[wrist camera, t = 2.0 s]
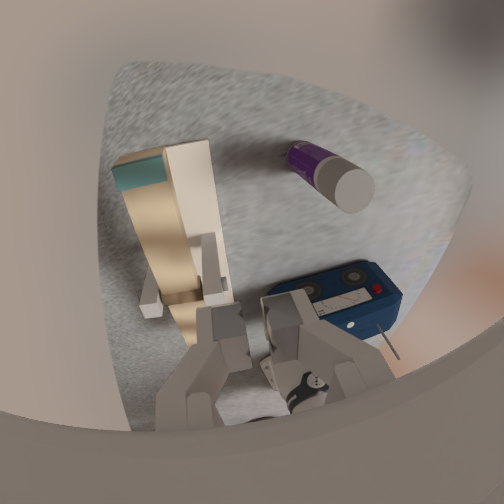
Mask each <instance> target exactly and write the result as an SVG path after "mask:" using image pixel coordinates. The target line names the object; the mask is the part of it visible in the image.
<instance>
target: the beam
mask: <svg viewBox="0 0 504 504" xmlns="http://www.w3.org/2000/svg"><path fill="white" fill-rule="evenodd" d="M111 170H112V173H113V176H114V179H115V182H116V185H117V188H118V191H119V192H120V191H121V192H122V195H123V198H124V200H125V203H126V206H127V209H128V212H129V215H130V217H131V220H132V223H133V225H134V228H135V231H136V233H137V236H138V238H139V241H140V243H141V246H142V248H143V251H144V253H145V256H146V258H147V260H148V263H149V265H150V267H151V270H152V272H153V274H154V277H155V279H156V281H157V283H158V286H159V288H160V292H161V297H162V301H163V303H164V305H165V306H168V307H169V309H170V311H171V313H172V315H173V317H174V319H175V321H176V323H177V325H178V327H179V329H180V331H181V333H182V335H183V337H184V339H185V341H186V343H187V345H188V347H189V348H190V347H191V346H192V345H193V344H197V335H196V309H197V308H198V307H206V305H205V301H204V297H203V286H202V281H201V277H200V275H199V276H198V275H197V272H196V268H195V265H194V261H193V258H192V254H191V251H190V247H189V243H188V240H187V236H186V232H185V228H184V224H183V221H182V217H181V213H180V209H179V205H178V201H177V197H176V192H175V188H174V184H173V180H172V175H171V171H170V166H169V162H168V157H167V152H166V148H165V146H161V147H156V148H152V149H148V150H143V151H139V152H135V153H131V154H127V155H124V156H120V157H119V158H118V160H117V161H116V163H115V164H114V166H113V167H112V169H111Z"/></svg>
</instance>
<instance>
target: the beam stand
mask: <svg viewBox="0 0 504 504" xmlns="http://www.w3.org/2000/svg"><path fill="white" fill-rule="evenodd" d="M165 148H166V152H167V157H168V162H169V166H170V171H171V175H172V180H173V184H174V188H175V192H176V197H177V201H178V205H179V209H180V213H181V217H182V221H183V224H184V228H185V232H186V236H187V240H188V243H189V247H190V251H191V254H192V258H193V261H194V265H195V268H196V272H197V275H198V276H199V275H200V277H201V281H202V286H203V297H204V301H205V305H206V306H211V305H218V304H225V303H232V302H234V298H233V292H232V287H231V281H230V275H229V270H228V264H227V258H226V252H225V246H224V240H223V234H222V228H221V222H220V216H219V209H218V203H217V196H216V190H215V183H214V177H213V170H212V163H211V156H210V149H209V142H208V139H204V140H198V141H193V142H187V143H182V144H177V145H172V146H167V147H165ZM138 298H139V302H140V304H139V306H140V308H141V311H142V313H143V315H144V317H145V319H147V318H155V317H162V313H163V304H164V303H163V301H162V297H161V292H160V288H159V286H158V283H157V281H156V279H155V277H154V274H153V272H152V270H151V267H150V265H148V269H147V273H146V277H145V281H144V286H143V290H139V291H138Z"/></svg>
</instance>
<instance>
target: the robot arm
mask: <svg viewBox="0 0 504 504" xmlns="http://www.w3.org/2000/svg"><path fill="white" fill-rule="evenodd" d="M261 308H262V311H263V314H262V320H263V327H264V332H265V336H266V339H267V340H268V341H269V350H270V354H271V355H270V356H268V357H267V358H265V359H263V360H262V361H261V362H260V366H261V368H262V370H263V372H264V374H265V375H266V377H267V379H268V381H269V383H270V385H271V387H272V388H273V390H274V391H279V392H280V394H281V396H282V398H283V399H284V401H286V403H287V407H288V410H289V411H290V414H289V415H285V416H281V417H276V418H271V419H267V420H261V421H256V422H250V423H244V424H238V425H231V426H225V424H224V422H223V420H222V418H221V416H220V415H219V413H218V411H217V408H216V406H215V402H216V400H217V398H218V396H219V394H220V392H221V390H222V388H223V386H224V384H225V382H226V379H227V377H228V375H229V373H232V372H237V371H242V370H247V369H252V361H251V355H250V351H249V343H248V338H247V333H246V328H245V323H244V319H243V314H242V308H241V304H240V301H238V302H232V303H225V304H218V305H211V306H206V307H198V308H197V309H196V335H197V344H193V345H192V346H191V347H190V349H189V350H188V352H187V353H186V354H185V356H184V357H183V358H182V360H181V361H180V363H179V364H178V365H177V367H176V368H175V370H174V371H173V372H172V374H171V375H170V376H169V378H168V379H167V381H166V382H165V383H164V385H163V386H162V387H161V389H160V390H159V392H158V393H157V394H156V404H155V431H154V432H139V431H112V430H98V429H88V428H79V427H72V426H65V425H59V424H53V423H48V422H42V421H38V420H33V419H29V418H25V417H21V416H17V415H13V414H9V413H6V412H3V411H0V504H504V318H502V319H501V320H499V321H498V322H497V323H495V324H494V325H492V326H491V327H489V328H488V329H487V330H485V331H484V332H482V333H481V334H479V335H478V336H476V337H474V338H473V339H471V340H470V341H468V342H467V343H465V344H463V345H461V346H460V347H458V348H456V349H455V350H453V351H451V352H450V353H448V354H446V355H444V356H442V357H440V358H439V359H437V360H435V361H433V362H431V363H429V364H427V365H425V366H423V367H421V368H419V369H417V370H415V371H413V372H411V373H409V374H406V375H404V376H402V377H400V378H397V379H396V378H395V376H394V375H393V373H392V371H391V369H390V368H389V366H388V364H387V362H386V361H385V359H384V357H383V356H382V354H381V352H380V350H379V349H377V348H375V347H373V346H371V345H369V344H367V343H366V342H364V341H362V340H360V339H358V338H356V337H355V336H353V335H351V334H349V333H347V332H346V331H344V330H342V329H340V328H338V327H336V326H335V325H333V324H331V323H329V322H327V321H326V320H319V318H318V316H317V314H316V312H315V310H314V308H313V306H312V304H311V302H310V300H309V298H308V296H307V294H306V292H305V290H304V289H298V290H294V291H289V292H285V293H281V294H276V295H271V296H266V297H261ZM297 359H298V360H297Z"/></svg>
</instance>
